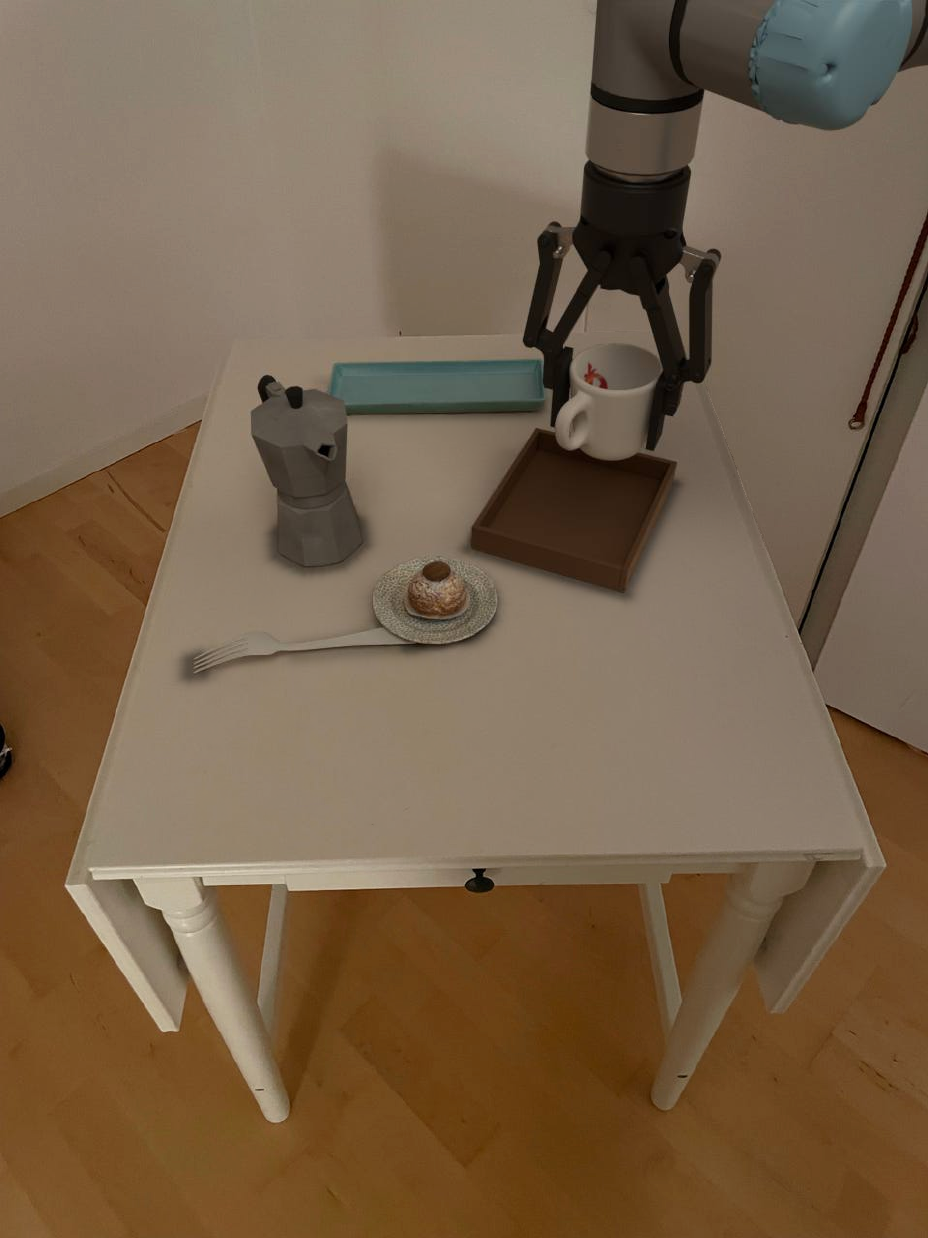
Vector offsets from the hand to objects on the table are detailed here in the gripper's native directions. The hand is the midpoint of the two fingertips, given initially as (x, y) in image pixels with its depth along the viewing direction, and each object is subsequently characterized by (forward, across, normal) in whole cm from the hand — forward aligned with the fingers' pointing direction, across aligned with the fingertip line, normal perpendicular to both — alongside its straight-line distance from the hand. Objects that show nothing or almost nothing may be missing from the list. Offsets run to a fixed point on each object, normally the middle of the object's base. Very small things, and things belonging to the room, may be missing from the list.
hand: (605, 429), depth 81 cm
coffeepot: (+16, +28, +7) cm, 33 cm away
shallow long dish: (+16, +26, -20) cm, 37 cm away
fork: (+16, +20, +22) cm, 34 cm away
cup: (+3, 0, 0) cm, 3 cm away
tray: (+16, +4, -6) cm, 17 cm away
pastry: (+16, +12, +12) cm, 23 cm away
